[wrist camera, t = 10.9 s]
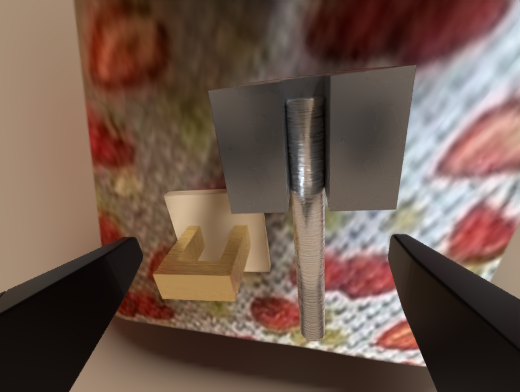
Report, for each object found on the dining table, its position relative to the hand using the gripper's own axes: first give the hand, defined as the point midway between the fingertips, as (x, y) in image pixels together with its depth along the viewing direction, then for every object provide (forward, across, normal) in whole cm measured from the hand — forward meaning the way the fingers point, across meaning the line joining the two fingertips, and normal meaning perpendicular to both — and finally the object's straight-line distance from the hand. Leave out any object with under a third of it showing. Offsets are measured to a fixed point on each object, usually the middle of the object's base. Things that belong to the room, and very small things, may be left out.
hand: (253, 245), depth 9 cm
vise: (+13, -2, +4) cm, 14 cm away
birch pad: (+13, +6, +8) cm, 17 cm away
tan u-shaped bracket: (+12, +6, +8) cm, 16 cm away
